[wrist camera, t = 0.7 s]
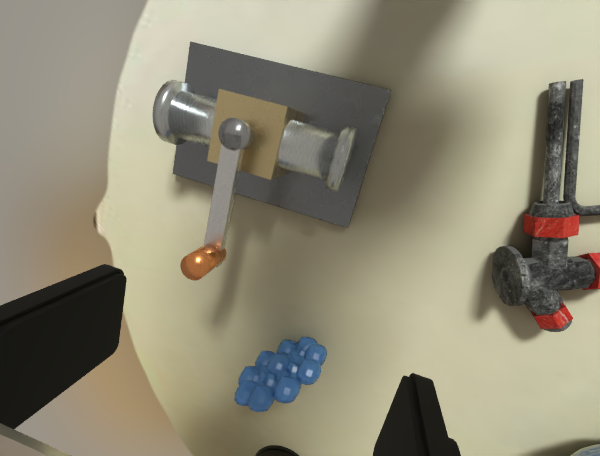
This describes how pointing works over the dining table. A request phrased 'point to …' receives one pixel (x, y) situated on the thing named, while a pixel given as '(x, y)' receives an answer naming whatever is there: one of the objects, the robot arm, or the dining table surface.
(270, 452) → the french press
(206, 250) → the lever
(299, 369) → the grapes
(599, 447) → the ramen bowl
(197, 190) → the dining table surface
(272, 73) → the valve body
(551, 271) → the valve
